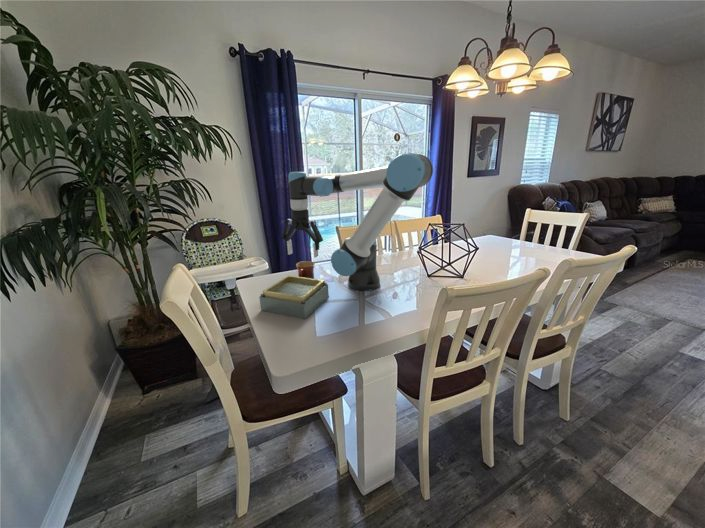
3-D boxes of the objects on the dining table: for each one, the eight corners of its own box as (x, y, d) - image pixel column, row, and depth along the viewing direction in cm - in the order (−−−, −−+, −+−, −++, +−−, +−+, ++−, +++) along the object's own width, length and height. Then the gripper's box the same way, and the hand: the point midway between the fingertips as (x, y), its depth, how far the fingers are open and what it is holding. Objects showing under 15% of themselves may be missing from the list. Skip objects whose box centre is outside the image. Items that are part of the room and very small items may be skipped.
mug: (301, 280, 143) (300, 260, 140) (318, 281, 141) (317, 261, 138) (292, 289, 132) (290, 268, 129) (310, 291, 130) (308, 269, 127)
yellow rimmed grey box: (328, 298, 125) (327, 279, 122) (305, 321, 107) (303, 299, 104) (283, 291, 132) (281, 273, 130) (255, 311, 115) (252, 290, 112)
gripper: (329, 208, 124) (331, 255, 131) (280, 206, 133) (284, 250, 140) (321, 211, 117) (323, 260, 124) (270, 208, 126) (275, 254, 133)
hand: (303, 255), depth 132 cm, fingers open, 13 cm apart
